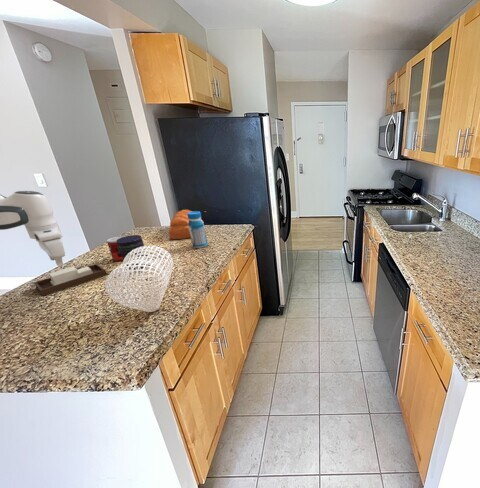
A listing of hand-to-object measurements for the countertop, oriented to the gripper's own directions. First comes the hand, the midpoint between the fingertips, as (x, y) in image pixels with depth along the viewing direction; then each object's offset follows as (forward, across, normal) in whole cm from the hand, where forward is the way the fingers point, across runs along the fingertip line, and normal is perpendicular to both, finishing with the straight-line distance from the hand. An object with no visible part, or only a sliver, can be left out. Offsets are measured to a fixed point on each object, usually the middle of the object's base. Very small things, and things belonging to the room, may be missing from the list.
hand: (57, 262), depth 109 cm
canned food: (+10, -9, +25) cm, 28 cm away
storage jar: (+10, +9, +25) cm, 28 cm away
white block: (+9, 0, +3) cm, 10 cm away
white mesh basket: (+10, +53, +12) cm, 55 cm away
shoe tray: (+10, 0, +3) cm, 10 cm away
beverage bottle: (+9, +9, +58) cm, 59 cm away
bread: (+9, -22, +67) cm, 71 cm away
